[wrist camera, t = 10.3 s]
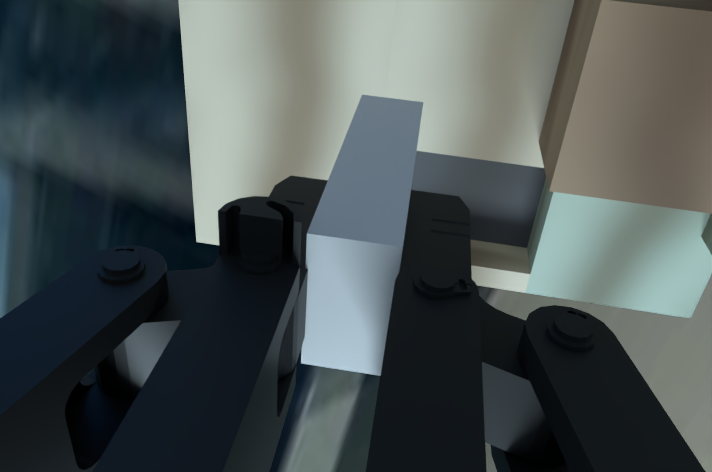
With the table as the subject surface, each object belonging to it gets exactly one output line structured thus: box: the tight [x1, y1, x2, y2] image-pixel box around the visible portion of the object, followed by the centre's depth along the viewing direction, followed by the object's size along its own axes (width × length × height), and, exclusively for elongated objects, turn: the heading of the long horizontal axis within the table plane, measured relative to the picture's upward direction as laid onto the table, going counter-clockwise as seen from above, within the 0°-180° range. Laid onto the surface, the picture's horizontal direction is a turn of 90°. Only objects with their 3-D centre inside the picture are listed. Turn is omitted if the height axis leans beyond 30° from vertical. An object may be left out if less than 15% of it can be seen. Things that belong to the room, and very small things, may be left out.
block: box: [539, 0, 712, 214], centre depth 20 cm, size 6×6×4 cm
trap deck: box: [179, 0, 712, 318], centre depth 22 cm, size 22×20×6 cm
